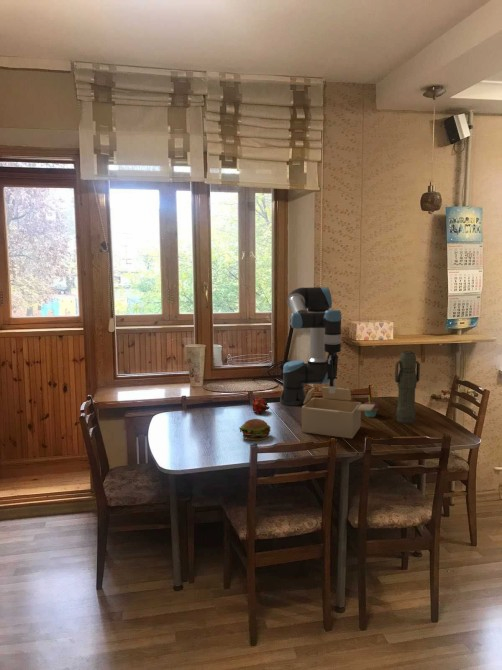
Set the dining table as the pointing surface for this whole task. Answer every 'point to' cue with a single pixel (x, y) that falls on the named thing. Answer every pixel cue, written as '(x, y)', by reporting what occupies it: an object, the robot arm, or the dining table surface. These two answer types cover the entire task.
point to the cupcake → (374, 410)
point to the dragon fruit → (259, 405)
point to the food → (255, 429)
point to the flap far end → (365, 407)
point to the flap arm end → (308, 395)
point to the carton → (331, 418)
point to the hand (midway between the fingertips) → (332, 392)
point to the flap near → (324, 410)
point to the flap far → (337, 393)
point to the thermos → (406, 386)
